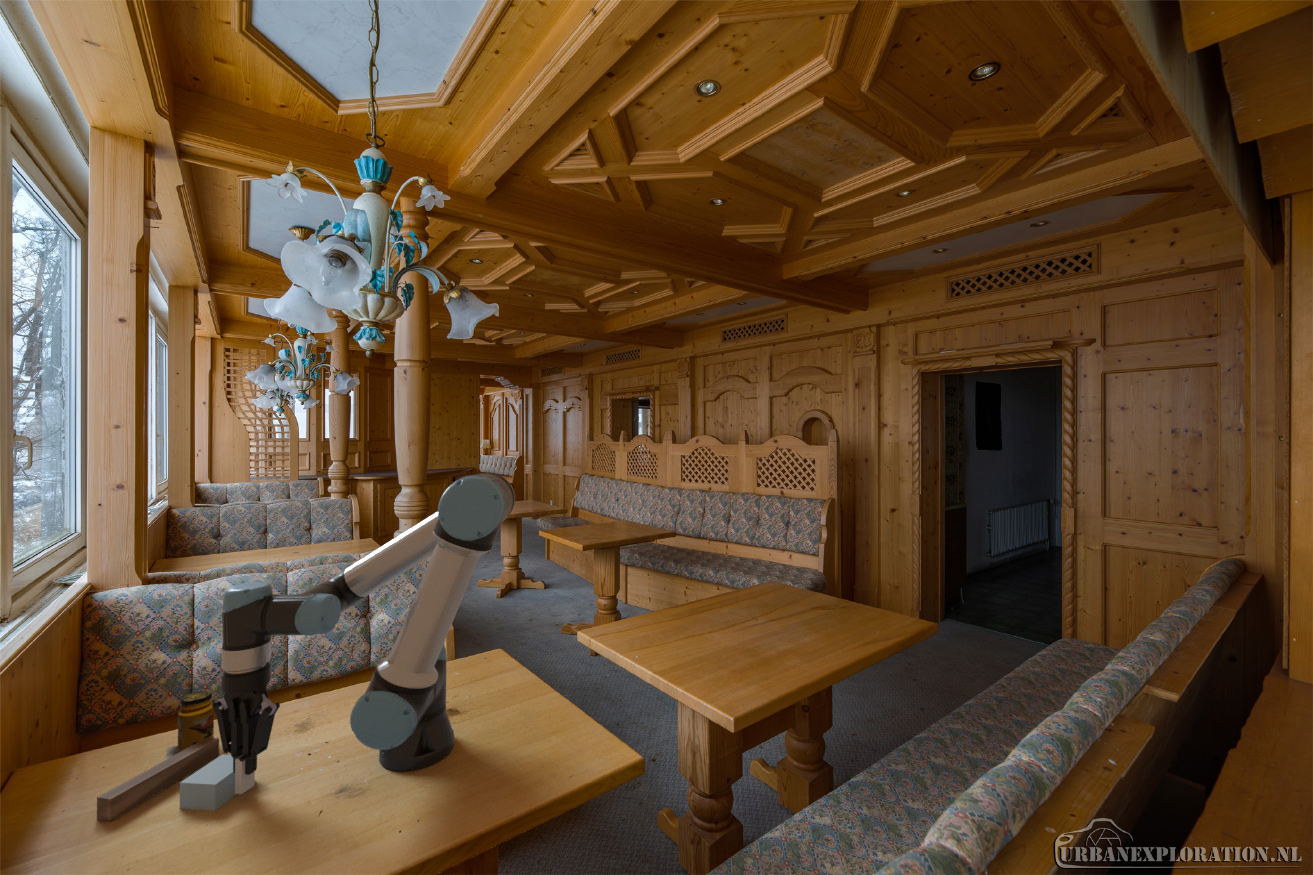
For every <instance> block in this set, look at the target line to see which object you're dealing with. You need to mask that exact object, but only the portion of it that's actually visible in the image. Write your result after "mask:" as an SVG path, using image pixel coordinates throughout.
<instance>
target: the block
mask: <svg viewBox="0 0 1313 875" xmlns="http://www.w3.org/2000/svg"><path fill="white" fill-rule="evenodd" d="M255 780H256V778H254V781H255ZM236 795H237V794H235V773H234V772H233V757H232V756H231V754H221V755H219V757H218V758H216V759H215V760H213V761H212V762H210V763H208V764H207V765H205V766H203V767H202V768H200V769H198V770H197V771H195V772H193V773H191V774H190V775H188V776H187V777H185V778H184V779H182V781H181V782H179V809H181V810H197V811H213V812H215V811H216V810H218V809H219V808H220V807H221V806H223V805H225V804H226V803H227V802H228V801H229V800H231V799H232V798H233V797H235V796H236Z"/></svg>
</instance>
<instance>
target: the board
mask: <svg viewBox="0 0 1313 875" xmlns="http://www.w3.org/2000/svg"><path fill="white" fill-rule="evenodd" d="M219 756H220V738H218V737H217V738H210V737H207V738H205V739H203V740H201V741H200V742H198V743H196V744H194V745H192V746H190V747H189V748H187V749H185V750H183V751H181V752H179V753H177V754H176V755H174V756H172V757H170V758H168V759H166V760H165V761H163V760H162V761H161V762H159V763H157V764H156V765H154V766H152V767H150V768H148V769H147V770H144V771H142V772H141V773H139V774H137V775H135V776H133V777H132V778H130V779H128V780H126V781H124V782H122V783H120V784H119V785H117V786H115V787H113V788H111V789H110V790H108V791H105V792H104V793H102V794H100V795H99V796H97V797H96V820H98V821H104V822H110V823H111V822H112V821H114V820H116V819H117V818H119V817H120V816H123V814H126V813H127V812H129V811H131V810H132V809H134V808H136V807H137V806H139V805H141V804H143V803H144V802H146V801H147V799H148V800H149V799H151V798H153V797H154V796H156V795H158V794H159V793H161V792H163V791H164V790H166V789H168V788H169V787H171V786H172V785H175V784H176V783H178V782H179V781H181V780H184V779H186V778H187V777H189V776H191V775H192V774H194V773H195V772H197V771H198V770H200V769H201V768H203V767H204V766H206V765H207V764H209V763H210V762H212V761H213V760H215V759H216V758H218V757H219ZM165 788H166V789H165ZM162 790H163V791H162ZM153 795H154V796H153Z"/></svg>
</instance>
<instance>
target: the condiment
mask: <svg viewBox="0 0 1313 875" xmlns="http://www.w3.org/2000/svg"><path fill="white" fill-rule="evenodd" d="M212 696H213V694H212V692H211V691H209V690H201V691H195V692H191V693H188V694H186V695H185V696H183V697H182V698H181V700H180V710H179V711H178V713H177V716H178V717H177V745H172V746H169V747H168V748H167V751H166V753H165V756H166V757H165V756H164V758H163V760H162V762H163V761H165V760H166V759H168V758H170V757H172V756H174V755H176V754H177V753H179V752H181V751H183V750H185V749H187V748H189V747H190V746H192V745H194V744H196V743H198V742H200V741H201V740H203V739H205V738H207V737H210V738H218V736H215V735H214V734H215V733H214V731H215V730H214V728H215V727H214V726H215V725H214V723H215V722H214V721H215V719H214V718H215V714H214V713H215V711H214V709H213V707H212V704H213V703H214V702H213V699H212V698H213V697H212Z"/></svg>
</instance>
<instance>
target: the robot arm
mask: <svg viewBox="0 0 1313 875" xmlns="http://www.w3.org/2000/svg"><path fill="white" fill-rule="evenodd" d="M515 503H516V493H515V489H514V488H513V486H512V484H511V483H510V481H508V479H507V478H505V477H504V476H502V475H500V474H499V473H494V472H488V471H487V472H480V473H477V474H470V475H467V476H463V477H461V478H459V479H457V480H455V481H454V482H452V483H451V484H450V485H449V486H448V487H447V488H446V489H445V490H444V492H443V494H442V495H441V497H440V499H439V503H438V505H437V511H436V512H434V513H433V514H431V515H428V516H427V517H425V519H422V520H421V521H420V522H418V523H416V524H415V525H413V526H411V527H410V528H409V529H407V530H404V531H403V532H402V533H400V534H399V535H396V537H394V538H392V539H391V540H390V541H387V542H386V543H385V544H382V546H380V547H378V548H376V549H375V550H373V551H372V552H370V553H369V554H367V555H365V556H364V557H362V558H361V559H359V560H357V561H356V562H354V563H352V564H351V565H349V566H348V567H346V568H345V569H343V570H341V571H339V573H336V574H335V575H333V576H332V577H330V578H328V579H326V580H325V581H323V582H321V583H320V584H318V585H315V586H313V587H312V588H309V589H307V590H305V591H303V592H301V593H296V594H293V593H291V594H275V593H274V592H273V587H272V584H271V583H269V582H263V581H254V582H245V583H241V584H237V585H234V586H230V587H229V588H227V589H226V590H225V591H224V594H223V603H222V611H221V616H222V617H221V618H222V643H221V644H222V645H221V646H222V648H221V665H220V666H221V670H222V672H221V676H220V677H221V678H220V679H221V681H220V683H221V686H220V688H221V692H222V693H223V697H222V698H220V699H218V700H216V701H214V702H212V703H213V704H212V707H213V709H214V713H215V715H216V720H217V726H218V731H219V738H220V740H221V747H222V751H223V753H224V754H228V753H229V754H230V755H231V756H232V757H233V772H234V773H235V794H236V795H242V794H244V793H245V792H247V791H248V790H250V789H252V788H253V787H254V786H255V780H254V778H255V777H256V776H255V774H256V773H255V772H256V771H257V768H258V755H260V754H261V753H264V751H266V750H267V749H268V747H269V744H270V743H269V742H270V738H271V733H272V730H273V725H274V720H275V715H276V713H277V712H278V710H279V708H280V706H281V704H280V702H279V701H274V703H273V702H272V701H271V700H270V699H269V697H270V696H269V692H268V689H267V687H268V684H269V683H270V681H271V671H272V670H271V663H270V660H271V651H272V649H271V647H272V646H271V644H272V636H307V637H308V636H309V637H310V636H316V635H325V634H328V633H331V632H332V631H333V630H334V629H335V627H336V625H337V624H338V623H339V621H340V617H341V613H343V612H344V611H346V610H347V609H350V608H351V607H353V606H354V605H355V604H356V603H358V602H360V601H361V600H363V599H365V598H366V597H367V596H369V595H371V594H373V593H374V592H376V591H377V590H379V589H380V588H382V587H384V586H385V585H387V584H388V583H390V582H392V581H393V580H395V579H396V578H398V577H399V576H401V575H403V574H404V573H405V572H407V571H409V570H410V569H412V568H413V567H415V566H417V565H418V564H420V563H422V562H423V561H425V560H426V559H428V558H429V557H430V559H429V561H428V564H427V566H426V569H425V571H424V573H423V576H422V578H421V580H420V582H419V586H418V588H417V590H416V593H415V594H414V597H413V599H412V601H411V602H412V603H411V604H410V607H409V610H408V612H407V615H406V617H405V620H404V621H403V624H402V626H401V628H400V630H399V632H398V633H399V634H398V636H397V639H396V640H395V643H394V645H393V648H392V649H391V650H390V652H389V655H386V656H384V657H382V658H381V659H379V661H378V663H377V665H376V667H375V670H374V672H373V674H372V676H371V679H370V682H369V683H368V686H367V688H366V690H365V692H364V693H363V695H361V696H360V697H359V698H358V699H357V700H356V702H355V704H354V706H353V708H352V709H351V712H350V718H349V722H350V723H349V724H350V729H351V731H352V732H353V733H354V735H355V738H356V739H357V740H358V742H360V743H361V744H362V745H364V746H366V747H367V748H370V749H373V750H378V761H379V764H380V765H381V766H382V767H383V768H384V769H387V770H390V771H395V772H397V771H398V772H406V771H414V770H420V769H423V768H427V767H429V766H431V765H434V764H436V763H438V762H440V761H441V760H443V759H445V758H446V757H447V756H448V755H450V753H451V752H452V750H453V749H454V747H455V746H454V745H455V733H454V729H453V727H452V724H451V721H450V719H449V716H448V712H447V661H448V657H447V649H446V646H444V645H445V642H446V639H447V636H448V634H449V632H450V629H451V627H452V624H453V622H454V620H455V617H456V615H457V612H458V610H459V608H460V605H461V602H462V600H463V599H464V596H465V592H466V591H467V588H468V585H469V583H470V580H471V578H472V576H473V573H474V571H475V569H476V567H477V563H478V561H479V560H480V557H481V556H483V555H484V554H487V553H489V552H491V551H492V548H493V545H494V544H495V541H496V539H497V536H498V534H499V532H500V529H501V527H502V524H503V522H504V521H506V519H508V518H509V517H510V515H511V514H512V512H513V510H514V508H515V505H516V504H515ZM255 779H256V778H255Z"/></svg>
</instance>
